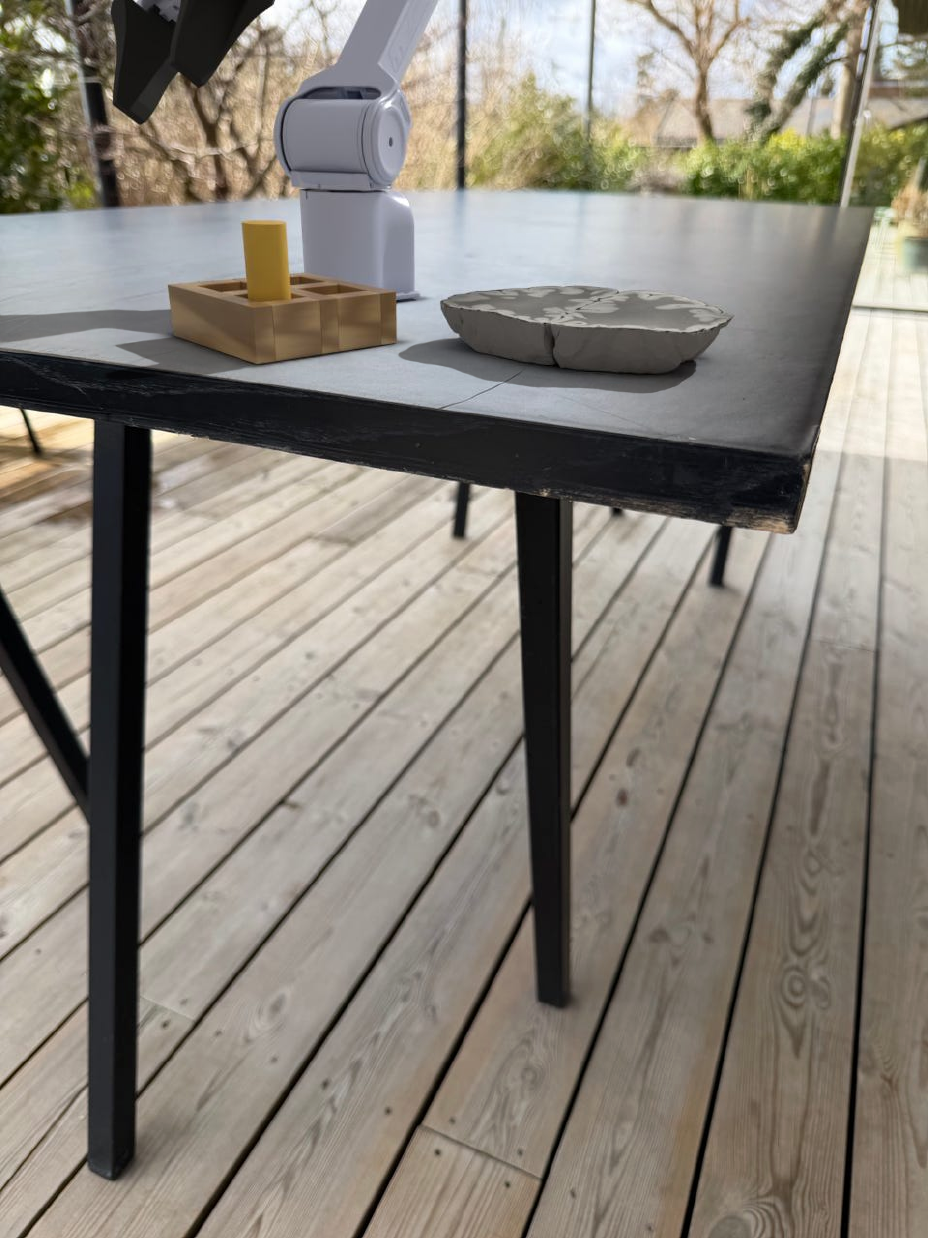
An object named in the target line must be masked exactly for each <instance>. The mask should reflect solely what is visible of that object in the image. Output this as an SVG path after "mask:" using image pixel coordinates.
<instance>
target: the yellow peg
mask: <svg viewBox="0 0 928 1238" xmlns="http://www.w3.org/2000/svg"><path fill="white" fill-rule="evenodd" d="M241 232H242V244H243V256H244V257H243V258H244V266H245V268H244V269H245V278H246V281H247V292H248V299H249V300H253V301H257V302H266V301H276V300H285V299H291V290H290V275H289V274H290V263H289V262H290V260H289V246H288V245H289V244H288V232H287V222H286V221H283V220H274V219H273V220H272V219H271V220H270V219H260V220H259V219H255V220H245V221H241Z"/></svg>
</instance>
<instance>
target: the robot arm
mask: <svg viewBox="0 0 928 1238" xmlns="http://www.w3.org/2000/svg"><path fill="white" fill-rule="evenodd" d="M439 1H440V0H366V1H365V3H364V5H363V7H362V9H361V11H360V13H359V16H358V17H357V20H356V21H355V24H354V25H353V28H352V30H351V32H350V34H349V36H348V38H347V40H346V42H345V44H344V46H343V48H342V50H341V52H340V55H339V57H338V59H337V60H336V62H335V63H334V64H332V65H331V66H328V67H327V68H325V69H323V70H321V71H319V72H317V73H315V74H313V75H311V76H309V77H308V78H305V79H304V80H303V81H302V82H301V84H300V86H299V88H298V89H297V91H296V92H295V94H293V95H291V96H290V97H287V98H285V100H283V101H282V103H281V104H280V105H279V108H278V110H277V113H276V115H275V119H274V123H273V132H272V133H273V135H272V136H273V147H274V152H275V154H276V157H277V160H278V162H279V164H280V167H281V169H282V170H283V172H284V174H285V175H286V176H287V177H289V178H290V183H291V184H290V185H291V187H292V188H299V191H298V192H299V209H300V210H299V211H300V225H301V244H302V260H303V273H309V274H314V275H319V276H324V277H329V278H334V279H338V280H343V281H348V282H353V283H358V284H363V285H368V286H372V287H377V288H382V289H387V290H392V291H396V301H398V300H399V301H400V300H407V299H416V298H417V299H418V298H420V297H421V292H420V291H419V290H418V291H417V290H415V288H416V287H415V286H416V283H415V282H416V281H415V272H416V271H415V268H416V267H415V220H414V214H413V210H412V208H411V205H410V203H409V201H408V199H407V197H405V196H404V195H403V193H401V192H400V191H398V190H395V189H393V183H395V181H396V180H397V179H398V177H399V175H400V173H401V171H402V170H403V167H404V164H405V161H406V157H407V147H408V146H407V145H408V141H409V140H408V139H409V135H410V133H411V130H412V128H413V122H412V116H411V110H410V107H409V104H408V100H407V97H406V95H405V92H404V90H403V89H402V87H401V85H402V82H403V80H404V78H405V76H406V73H407V71H408V69H409V67H410V65H411V62H412V61H413V58H414V55H415V53H416V52H417V49H418V46H419V45H420V42H421V40H422V38H423V36H424V34H425V31H426V30H427V27H428V24H429V23H430V20H431V18H432V16H433V14H434V11H435V9H436V7H437V5H438V4H439V3H438V2H439ZM275 2H276V0H137V1H135V0H112V2H111V6H110V14H109V15H110V17H111V21H112V25H113V29H114V35H115V50H116V53H115V54H116V55H115V68H114V76H113V77H114V78H113V79H114V80H113V89H112V105H113V107H114V108H116V109H117V110H119V112H121V113H123V114H124V115H125V116H126V117H128V118H129V119H131V120H132V121H133V122H134V123H136V124H137V125H139V126H141V125H144V124H145V123H146V122H147V121H148V120H149V118H150V117H151V116H152V115H153V113H154V112H155V110H156V109H157V107H158V105H159V104H160V102H161V100H162V98H163V96H164V94H165V92H166V91H167V89H168V87H169V85H170V84H171V83H172V81H173V80H174V79H175V77H176V76H177V75H178V73H179V74H180V75H181V76H183V77H184V78H185V79H187V80H188V82H190V83H191V84H192V85H194V86H195V87H196V88H197V89H200V88H202V87H204V86H205V85H206V84H207V83H208V81H210V79H211V78H212V77H213V75H214V74H215V72H216V71H217V70H218V68H220V65H221V64H222V62H223V61H224V59H225V58H226V56H227V55H228V54H229V52H230V50H231V48H232V47H233V46H234V44H235V43H236V42H237V40H238V39H239V38H240V37H241V35H242V34H243V33H244V31H245V30H246V29H248V27H249V26H250V25H251V24H252V23H253V22H254V21H255V20H256V19H257V18H258V17H259V16H260V15H262V14H263V13H264V12H265V11H267V10H268V9H269V8H271V7H272V6H274V5H275Z"/></svg>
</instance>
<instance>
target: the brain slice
mask: <svg viewBox="0 0 928 1238" xmlns="http://www.w3.org/2000/svg"><path fill="white" fill-rule="evenodd" d="M439 305H440V311H441V313H442V315H443V317H444V319H445V320H446V323H447V325H448V326H449V328H450V329H451V330H452V332H453V333H455V334H457V335H458V336H459V338H460V339H461V340H463V342H464V343H466V344H467V345H468V346H469V347H470V348H472V349H473V350H474V351H476V352H478V353H482V354H485V355H491V356H496V357H499V358H504V359H510V360H513V361H516V362H517V361H518V362H523V363H529V364H535V365H543V366H555V365H556V364H557V365H558V366H559V368H560V369H566V370H575V371H583V372H584V371H586V372H587V371H588V372H589V371H593V372H610V373H619V374H623V373H624V374H640V375H641V374H647V375H648V374H649V375H660V374H661V375H662V374H667V373H668V372H671V371H674V370H675V369H677V368H678V367H679V366H680V364H683V363H685V362H686V361H687V362H688V361H695V360H696V359H698V358H699V357H700V356H702V354H703V353H704V352H706V350H707V349H709V347H710V346H711V345H712V344H713V343H714V342H715V341H716V339H717V338H718V336H719V335H720V331H721V330H722V329H724V328H726V327H727V326H728V325H729V324H730V322H731V321H732V319H733V318H734V317H735V315H734V314H732V313H729V312H728V313H727V312H724V310H721V309H720V308H719V307H717V306H712V305H709V304H708V303H706V302H704V301H701V300H697V299H692V298H690V297H688V296H683V295H678V294H671V293H667V292H662V291H654V290H624V291H620V290H619V289H615V288H611V287H603V286H602V287H601V286H594V285H593V286H591V285H567V286H566V285H565V286H559V285H542V286H531V287H514V288H503V289H491V290H475V291H470V292H466V293H458V294H457V293H456V294H453V295H451V296H448V297H447V298H445V299H443V298H442V299H441V300H440V301H439Z"/></svg>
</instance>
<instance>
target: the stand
mask: <svg viewBox="0 0 928 1238" xmlns="http://www.w3.org/2000/svg"><path fill="white" fill-rule="evenodd" d="M289 275H290V290H291V299H285V300H276V301H266V302H257V301H253V300H249V299H248V292H247V281H246V277H239V278H238V277H237V278H227V279H218V280H216V279H215V280H207V281H194V282H182V283H172V284H171V283H169V284H167V289H168V299H169V306H170V307H169V308H170V314H171V321H172V330H173V336H174V337H176V338H180V339H183V340H186V341H189V342H191V343H195V344H198V345H200V346H203V347H205V348H209V349H210V350H215V351H217V352H220V353H224V354H227V355H229V356H232V357H235V358H239V359H240V360H244V361H247V362H250V363H253V364H256V365H261V364H267V363H275V362H279V361H287V360H292V359H293V360H294V359H299V358H300V359H301V358H308V357H312V356H320V355H327V354H332V353H338V352H345V351H351V350H359V349H364V348H371V347H378V346H385V345H392V344H397V343H398V327H397V323H398V321H397V316H398V315H397V300H396V291H392V290H387V289H382V288H377V287H372V286H368V285H363V284H358V283H353V282H348V281H343V280H338V279H334V278H329V277H324V276H319V275H314V274H309V273H304V272H295V273H289Z"/></svg>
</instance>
